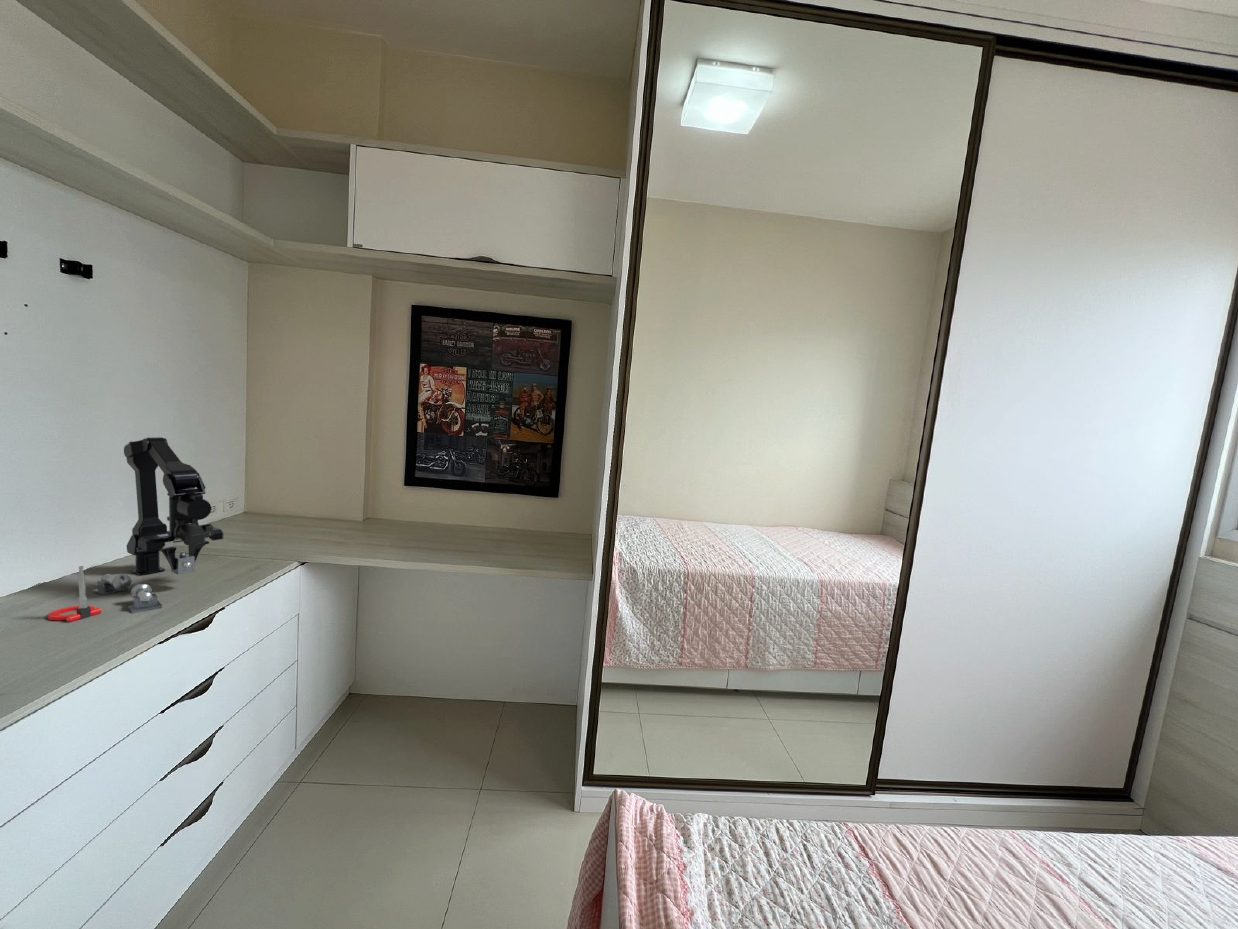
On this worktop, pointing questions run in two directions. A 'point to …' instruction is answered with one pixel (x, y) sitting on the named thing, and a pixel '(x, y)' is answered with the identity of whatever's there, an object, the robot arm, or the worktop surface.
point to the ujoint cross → (184, 563)
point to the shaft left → (112, 584)
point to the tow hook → (81, 610)
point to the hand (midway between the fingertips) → (182, 567)
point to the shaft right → (143, 599)
